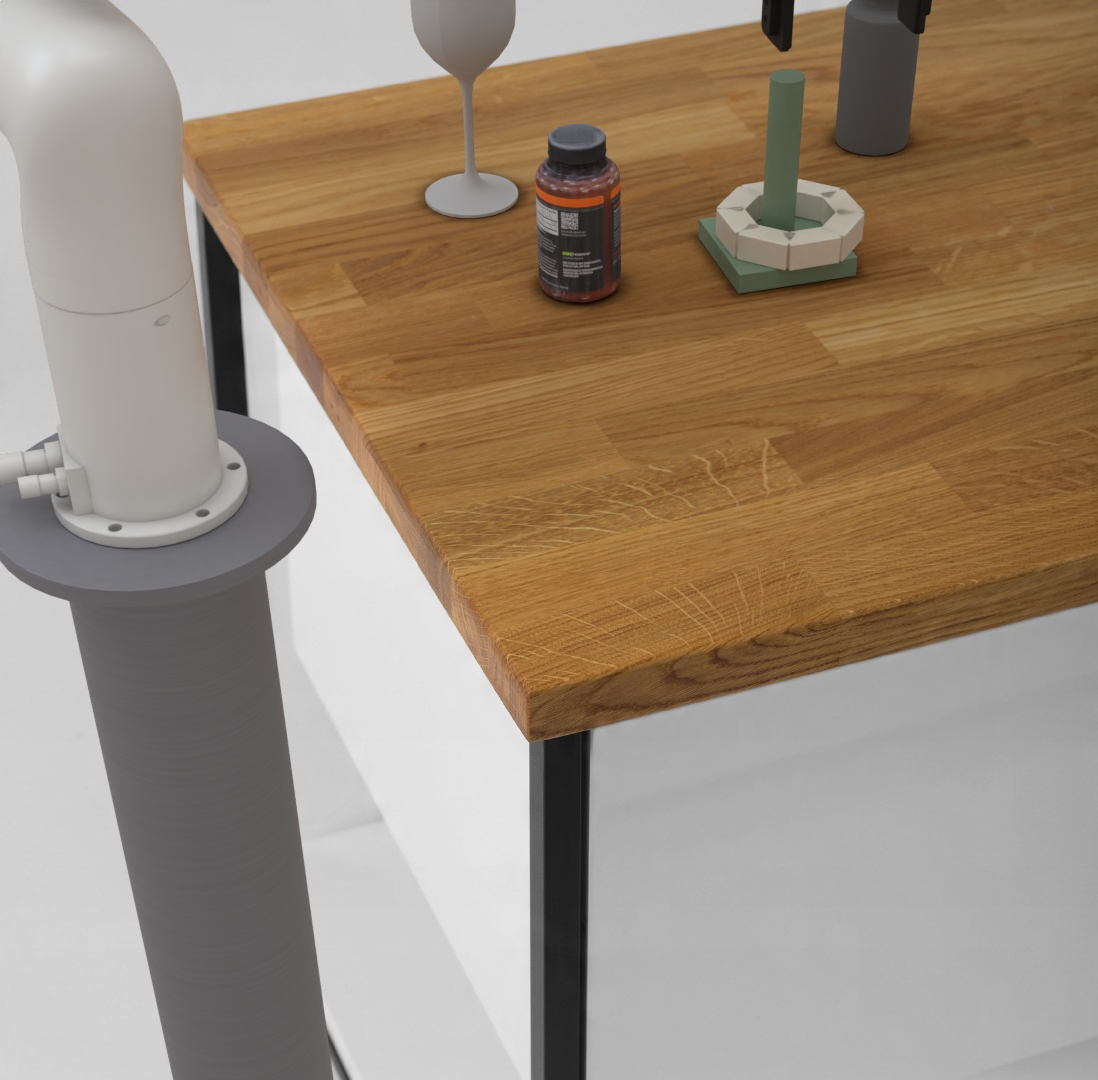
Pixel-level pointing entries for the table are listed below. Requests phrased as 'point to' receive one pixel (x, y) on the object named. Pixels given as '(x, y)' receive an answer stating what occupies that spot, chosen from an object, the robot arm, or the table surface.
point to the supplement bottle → (578, 216)
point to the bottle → (875, 79)
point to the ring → (796, 246)
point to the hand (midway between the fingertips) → (844, 35)
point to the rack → (777, 196)
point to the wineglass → (466, 91)
